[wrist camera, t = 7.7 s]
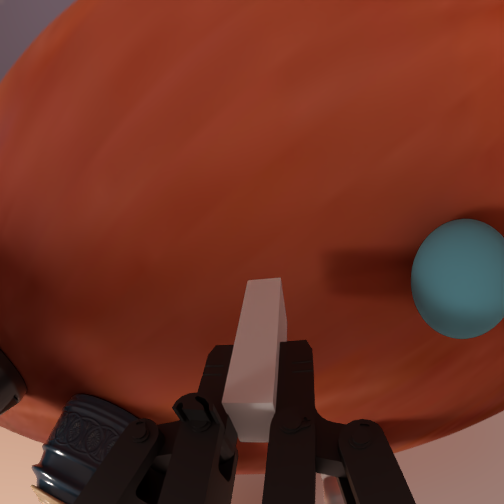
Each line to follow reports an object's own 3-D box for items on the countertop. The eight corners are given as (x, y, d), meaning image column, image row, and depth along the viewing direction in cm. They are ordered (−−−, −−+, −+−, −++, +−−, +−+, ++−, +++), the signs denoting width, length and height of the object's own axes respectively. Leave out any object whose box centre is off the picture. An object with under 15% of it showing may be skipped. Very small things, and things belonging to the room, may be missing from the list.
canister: (129, 398, 26) (69, 542, 11) (178, 453, 32) (145, 565, 17) (53, 384, 29) (-6, 489, 14) (104, 438, 35) (66, 529, 19)
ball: (504, 307, 13) (425, 282, 17) (527, 216, 10) (433, 194, 15) (486, 378, 10) (386, 339, 14) (529, 271, 7) (396, 234, 11)
